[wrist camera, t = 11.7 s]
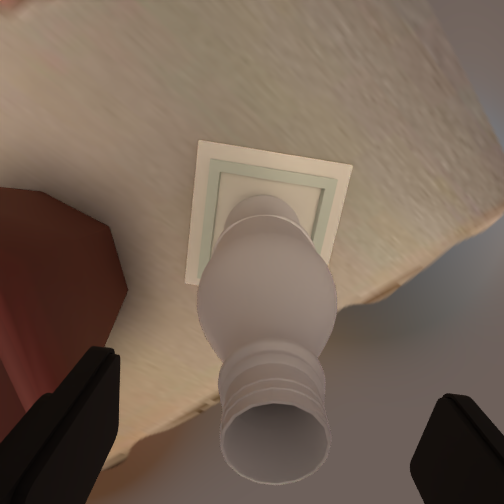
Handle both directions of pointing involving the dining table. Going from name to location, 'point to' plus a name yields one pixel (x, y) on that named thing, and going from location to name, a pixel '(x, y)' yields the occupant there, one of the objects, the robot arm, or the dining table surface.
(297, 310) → the water bottle
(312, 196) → the plate
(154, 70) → the dining table surface
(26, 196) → the bucket
